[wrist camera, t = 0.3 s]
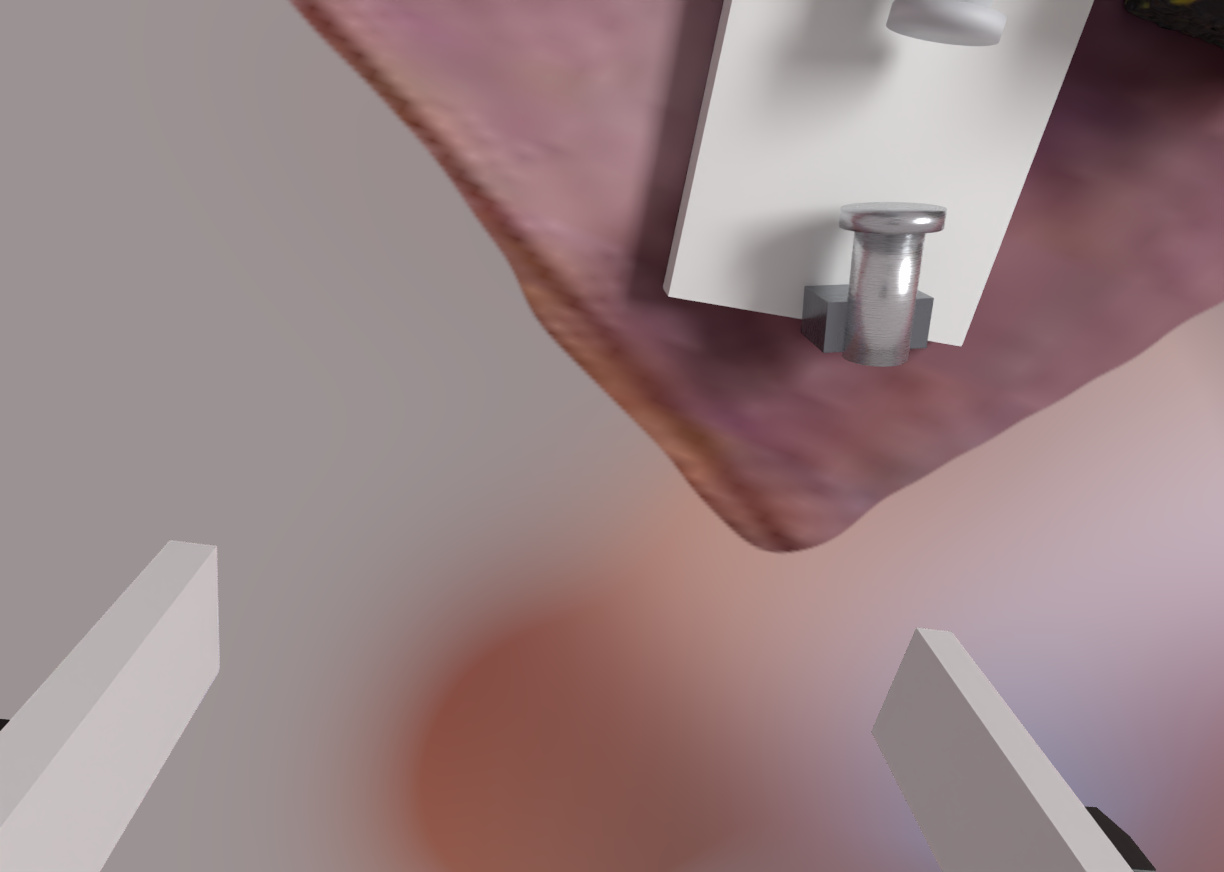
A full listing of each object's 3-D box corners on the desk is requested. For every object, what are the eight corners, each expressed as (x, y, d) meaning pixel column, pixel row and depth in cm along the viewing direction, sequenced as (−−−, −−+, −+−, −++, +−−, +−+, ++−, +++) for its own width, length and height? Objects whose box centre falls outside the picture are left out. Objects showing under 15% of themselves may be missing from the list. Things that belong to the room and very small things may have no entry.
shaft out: (811, 200, 35) (855, 216, 30) (912, 197, 36) (973, 212, 31) (800, 338, 38) (839, 373, 33) (894, 333, 39) (947, 368, 33)
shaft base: (762, -181, 31) (823, -266, 24) (1101, -90, 33) (1248, -144, 26) (662, 287, 39) (686, 327, 32) (943, 335, 41) (1024, 382, 34)
